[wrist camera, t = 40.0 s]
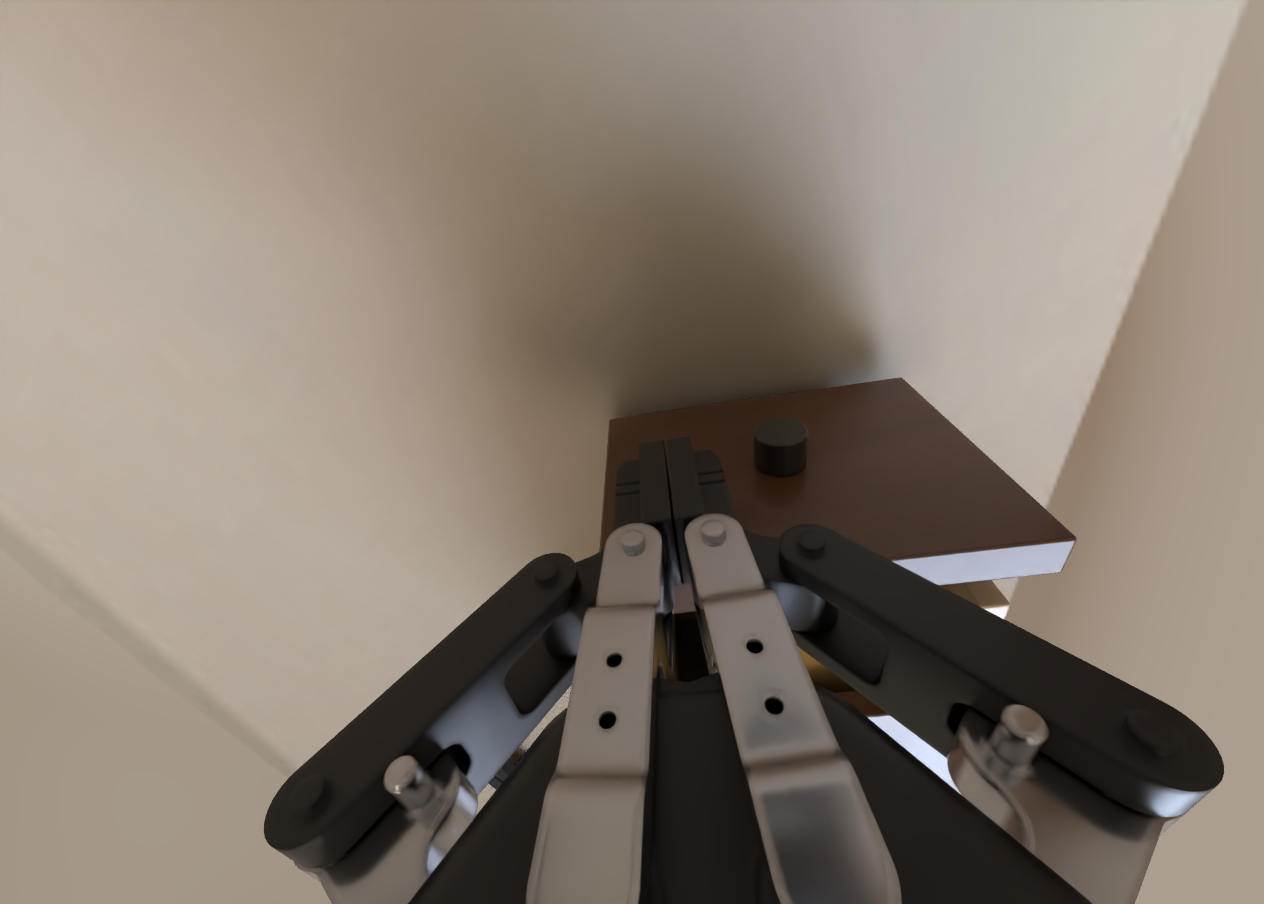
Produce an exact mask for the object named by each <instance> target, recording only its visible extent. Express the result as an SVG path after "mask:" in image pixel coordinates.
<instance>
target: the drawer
mask: <svg viewBox="0 0 1264 904" xmlns="http://www.w3.org/2000/svg"><path fill="white" fill-rule="evenodd" d="M686 435H690V440H691V445H692V450H693V451H701V450H708V449H710V450H711V451H712V452H713V453H714V454H715V455H717V456H718V457H719V458H720V461H721V465H722V469H723V472H724V476H725V480H726V483H727V487H728V491H729V495H730V498H731V502H732V506H733V509H734V513H735V517H736V519H737V521H738V522H739V524H740V525H741V526H742V527H744V528H745V529H746V530H748V531H750V532H752V533H755V534H758V535H762V536H768V537H776V538H780V537H781V535H782V534H783V533H784V532H785V531H786V530H787V529H789V528H791V527H793V526H796V525H800V524H816V525H821V526H824V527H826V528H829V529H831V530H833V531H835V532H837V533H839V534H840V535H842V536H844V537H846V538H848V539H850V540H852V541H854V542H856V543H858V544H860V545H862V546H864V547H866V548H867V549H869V550H871V551H873V552H875V553H877V554H879V555H881V556H883V557H885V558H887V559H889V560H891V561H893V562H894V563H896V564H898V565H900V566H902V567H904V568H906V569H908V570H910V571H912V572H914V573H916V574H918V575H919V576H921V577H923V578H925V579H927V580H929V581H931V582H933V583H935V584H937V585H939V586H941V587H943V588H945V589H946V590H948V591H950V592H952V593H954V594H956V595H958V596H960V597H962V598H964V599H966V600H968V601H970V602H972V603H973V604H975V605H977V606H979V607H981V608H983V609H985V610H987V611H989V612H991V613H993V614H995V615H997V616H999V617H1000V618H1002V619H1004V620H1005V617H1006V615H1007V612H1008V610H1009V608H1010V603H1009V602H1008V600H1007V599H1006V598H1005V597H1004V595H1003V594H1002V593H1001V592H1000V590H999V589H998V588H997V587H996V585H995V584H994V583H993V582H992V580H995V579H1005V578H1014V577H1024V576H1033V575H1042V574H1052V573H1059V572H1061V571H1062V570H1063V568H1064V565H1065V563H1066V561H1067V559H1068V557H1069V555H1070V553H1071V550H1072V549H1073V546H1074V544H1075V542H1076V537H1075V536H1074V535H1073V534H1072V533H1071V532H1070V531H1069V530H1068V529H1066V528H1065V527H1064V526H1063V525H1062V524H1061V523H1060V522H1059V521H1057V519H1055V518H1054V517H1053V516H1052V515H1051V514H1050V513H1049V512H1048V511H1047V510H1046V509H1045V508H1044V507H1042V506H1041V505H1040V504H1039V503H1038V502H1037V501H1036V500H1035V499H1034V498H1033V497H1031V496H1030V495H1029V494H1028V493H1027V492H1026V491H1025V490H1024V489H1023V488H1022V487H1021V486H1019V485H1018V484H1017V483H1016V482H1015V481H1014V480H1013V479H1012V478H1011V477H1010V476H1009V475H1007V474H1006V473H1005V472H1004V471H1003V470H1002V469H1001V468H1000V467H999V466H998V465H997V464H995V463H994V462H993V461H992V460H991V459H990V458H989V457H988V456H987V455H986V454H985V453H983V452H982V451H981V450H980V449H979V448H978V447H977V446H976V445H975V444H974V443H972V442H971V441H970V440H969V439H968V438H967V437H966V436H965V435H964V434H963V433H962V432H960V431H959V430H958V429H957V428H956V427H955V426H954V425H953V424H952V423H951V422H950V421H948V420H947V419H946V418H945V417H944V416H943V415H942V414H941V413H940V412H939V411H938V410H936V409H935V408H934V407H933V406H932V405H931V404H930V403H929V402H928V401H927V400H926V399H924V398H923V397H922V396H921V395H920V394H919V393H918V392H917V391H916V390H915V389H913V388H912V387H911V386H910V385H909V384H908V383H907V382H906V381H905V380H904V379H903V378H893V379H886V380H879V381H872V382H865V383H858V384H852V385H845V386H838V387H831V388H824V389H817V390H810V391H803V392H796V393H789V394H782V395H775V396H768V397H761V398H754V399H747V400H741V401H734V402H727V403H720V404H713V405H706V406H699V407H692V408H685V409H678V410H671V411H664V412H657V413H650V414H643V415H637V416H630V417H623V418H616V419H610V421H609V432H608V445H607V458H606V472H605V485H604V498H603V511H602V524H601V537H600V551H602V550H603V549H604V548H605V544H606V541H607V539H608V537H609V536H610V534H611V533H612V532H614V514H615V496H616V495H615V491H616V472H617V471H618V469H619V468H620V466H621V464H622V463H623V461H628V460H635V459H639V442H644V441H651V440H658V439H663V440H664V446H665V453H666V459H667V449H666V440H665V438H672V437H679V436H686ZM667 466H668V459H667ZM668 473H669V468H668ZM669 479H670V477H669ZM675 529H676V528H675ZM676 538H677V534H676ZM677 547H678V541H677ZM600 551H599V552H600ZM678 556H679V565H680V575H681V583H682V586H674V596H675V603H674V612H675V681H681V682H691V681H694V680H697V679H700V678H703V677H706V676H708V675H709V671H708V666H707V662H706V657H705V653H704V648H703V644H702V639H701V635H700V631H699V626H698V622H697V617H696V613H695V606H694V599H693V592H692V585H691V584H689V585H684V580H683V574H682V567H681V560H680V554H679V547H678Z"/></svg>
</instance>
